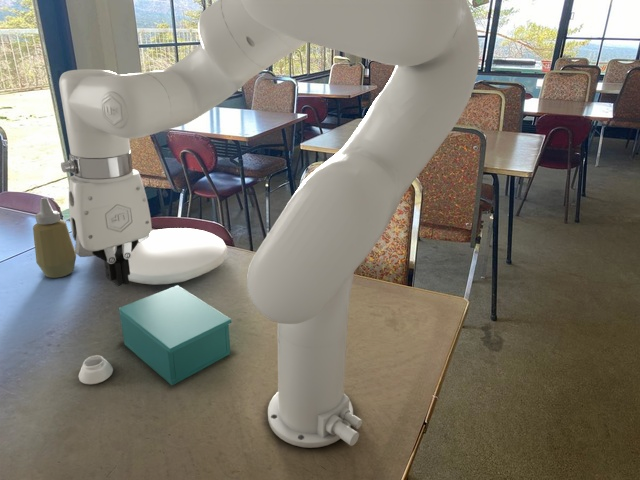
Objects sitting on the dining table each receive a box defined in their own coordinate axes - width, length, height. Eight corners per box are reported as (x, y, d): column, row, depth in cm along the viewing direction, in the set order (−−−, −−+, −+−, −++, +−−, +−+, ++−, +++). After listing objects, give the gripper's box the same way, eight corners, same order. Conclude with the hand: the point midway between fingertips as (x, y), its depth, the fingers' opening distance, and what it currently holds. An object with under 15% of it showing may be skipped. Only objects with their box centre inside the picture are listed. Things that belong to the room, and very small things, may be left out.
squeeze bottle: (64, 282, 106) (48, 205, 99) (31, 279, 107) (12, 202, 100) (86, 266, 113) (72, 193, 106) (55, 263, 114) (39, 191, 107)
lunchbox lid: (231, 322, 81) (231, 318, 81) (170, 353, 73) (169, 348, 73) (177, 288, 91) (177, 284, 91) (119, 311, 83) (118, 307, 83)
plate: (148, 220, 128) (243, 230, 124) (149, 243, 130) (242, 254, 126) (78, 252, 102) (195, 267, 97) (81, 281, 104) (196, 297, 99)
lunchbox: (230, 353, 84) (228, 321, 82) (171, 385, 76) (167, 350, 74) (181, 319, 94) (177, 288, 91) (124, 344, 86) (119, 312, 83)
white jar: (77, 372, 79) (82, 390, 75) (73, 357, 77) (79, 375, 74) (109, 362, 81) (116, 379, 77) (106, 348, 80) (113, 364, 76)
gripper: (55, 181, 59) (79, 309, 66) (166, 162, 69) (175, 275, 76) (34, 167, 63) (58, 288, 71) (140, 152, 73) (152, 259, 81)
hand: (119, 281), depth 74 cm, fingers closed
